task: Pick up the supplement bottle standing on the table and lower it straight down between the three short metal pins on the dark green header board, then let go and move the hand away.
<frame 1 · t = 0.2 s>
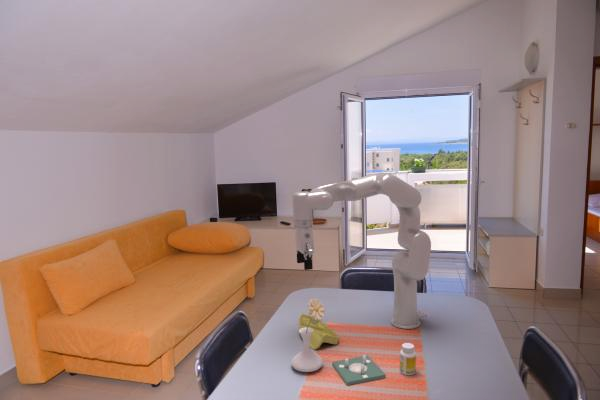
hand: (304, 265, 173), 31 cm above the table, tool pointing down, fingers open, 9 cm apart
header board: (358, 371, 152), on the table
flower in vase: (309, 366, 157), on the table
plastic component: (317, 338, 179), on the table
supplement bottle: (407, 372, 151), on the table
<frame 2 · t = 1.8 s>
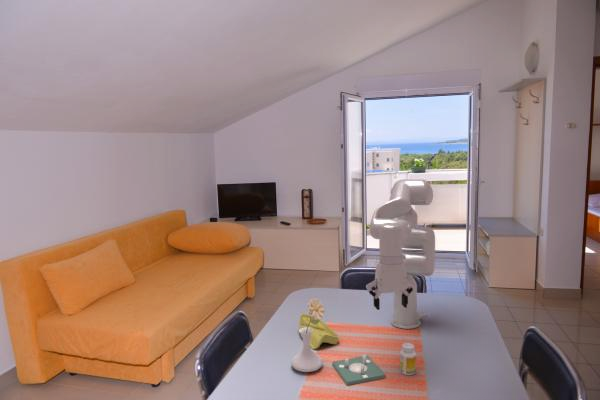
hand: (390, 307, 151), 22 cm above the table, tool pointing down, fingers open, 9 cm apart
nothing on the table moved.
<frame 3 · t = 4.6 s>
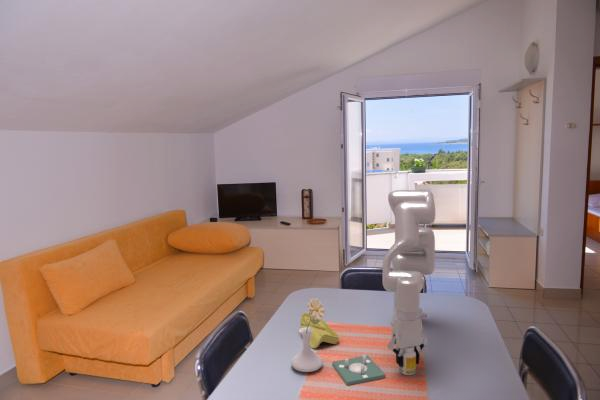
hand: (407, 363, 151), 3 cm above the table, tool pointing down, fingers closed on supplement bottle, 5 cm apart
supplement bottle: (407, 372, 151), on the table, touching gripper
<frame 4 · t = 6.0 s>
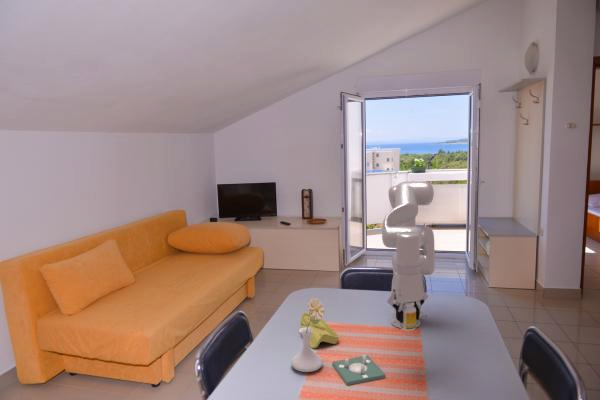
hand: (407, 319, 149), 19 cm above the table, tool pointing down, fingers closed on supplement bottle, 5 cm apart
supplement bottle: (407, 328, 149), point 16 cm above the table, touching gripper
everything else where it was.
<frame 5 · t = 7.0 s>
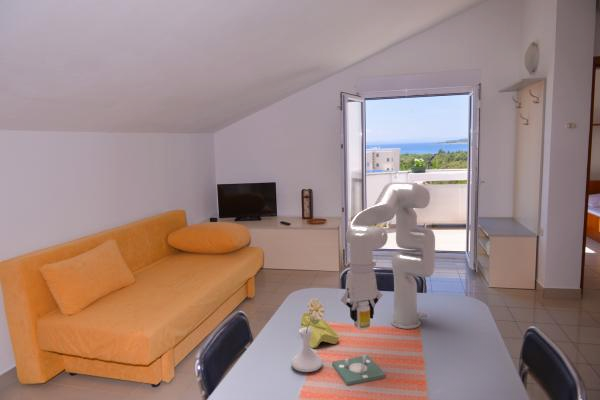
hand: (362, 317, 149), 20 cm above the table, tool pointing down, fingers closed on supplement bottle, 5 cm apart
supplement bottle: (362, 326, 150), point 16 cm above the table, touching gripper
when the fingers open (5 cm above the table, at t = 9.7 s): supplement bottle stays where it is, resting on header board.
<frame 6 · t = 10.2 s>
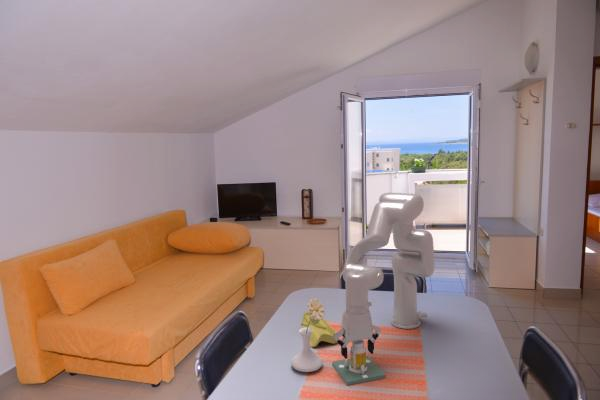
hand: (357, 354, 152), 6 cm above the table, tool pointing down, fingers open, 9 cm apart
supplement bottle: (358, 368, 152), point 1 cm above the table, touching header board
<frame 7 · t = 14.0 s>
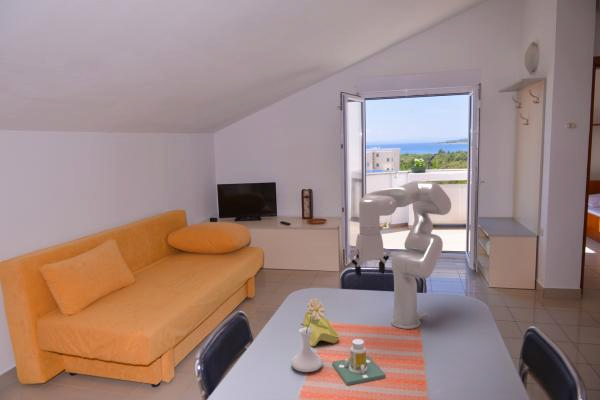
hand: (370, 274, 168), 28 cm above the table, tool pointing down, fingers open, 9 cm apart
at the end: supplement bottle 0.2 cm from the header board (horizontally); supplement bottle tilted 0°; supplement bottle point 1.1 cm above the table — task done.
